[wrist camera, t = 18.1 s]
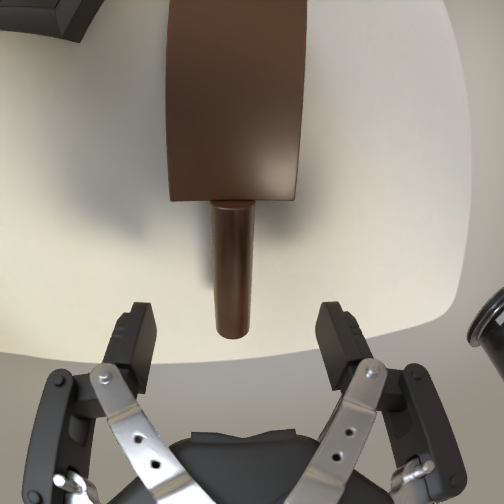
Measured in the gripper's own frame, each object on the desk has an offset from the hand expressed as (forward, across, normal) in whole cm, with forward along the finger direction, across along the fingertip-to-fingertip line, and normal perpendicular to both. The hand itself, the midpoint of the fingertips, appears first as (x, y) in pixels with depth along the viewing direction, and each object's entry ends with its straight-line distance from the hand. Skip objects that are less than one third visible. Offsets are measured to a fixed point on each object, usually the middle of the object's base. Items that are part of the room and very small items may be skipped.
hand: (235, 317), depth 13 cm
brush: (+5, 0, -6) cm, 8 cm away
